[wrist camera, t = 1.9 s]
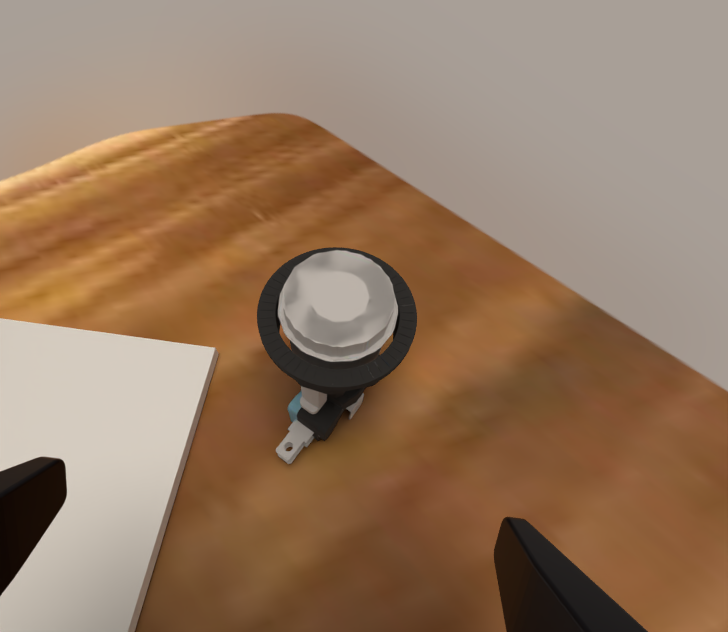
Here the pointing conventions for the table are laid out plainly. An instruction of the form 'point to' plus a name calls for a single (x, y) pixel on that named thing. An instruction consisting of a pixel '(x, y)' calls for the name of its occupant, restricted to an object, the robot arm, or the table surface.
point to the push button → (333, 334)
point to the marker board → (96, 465)
